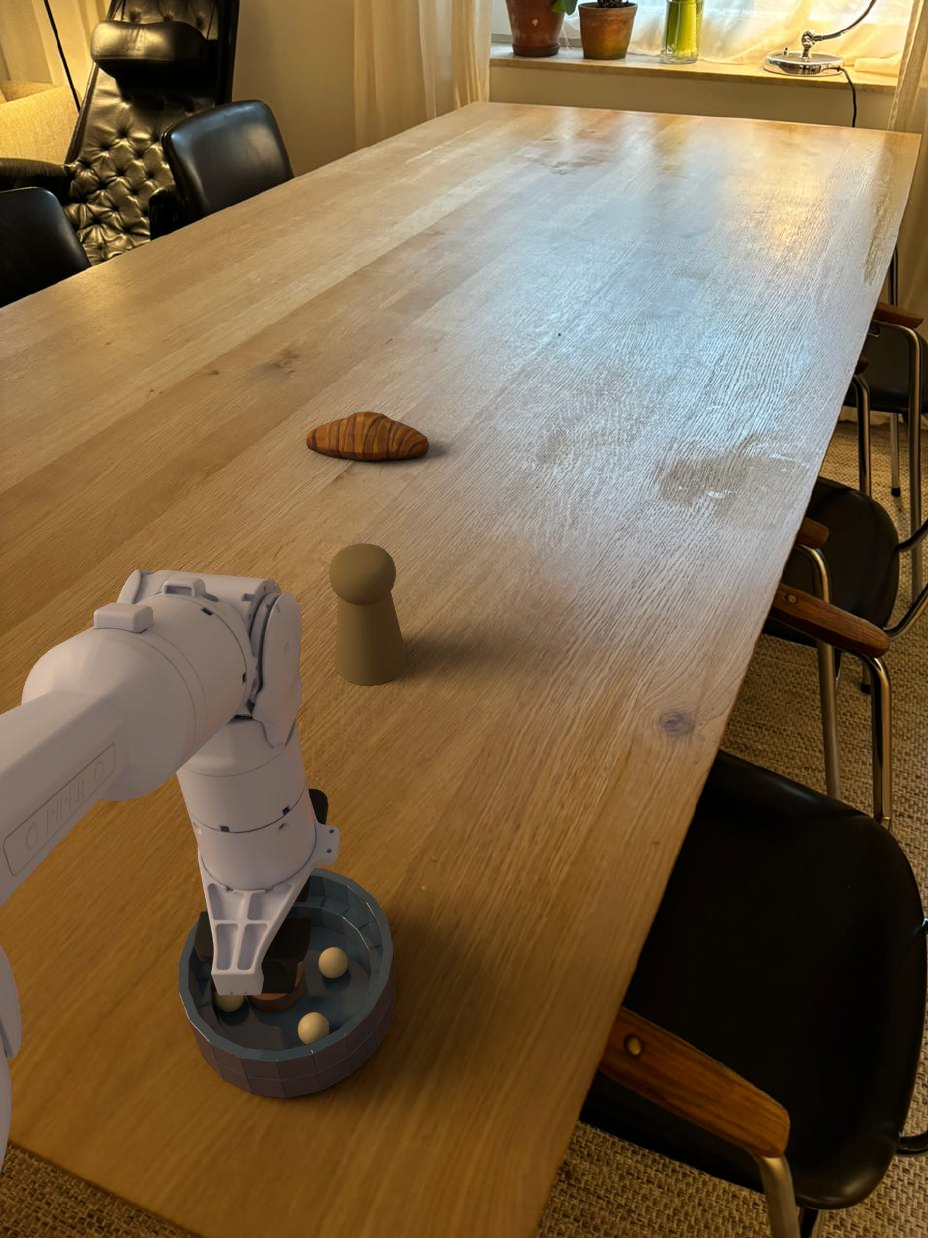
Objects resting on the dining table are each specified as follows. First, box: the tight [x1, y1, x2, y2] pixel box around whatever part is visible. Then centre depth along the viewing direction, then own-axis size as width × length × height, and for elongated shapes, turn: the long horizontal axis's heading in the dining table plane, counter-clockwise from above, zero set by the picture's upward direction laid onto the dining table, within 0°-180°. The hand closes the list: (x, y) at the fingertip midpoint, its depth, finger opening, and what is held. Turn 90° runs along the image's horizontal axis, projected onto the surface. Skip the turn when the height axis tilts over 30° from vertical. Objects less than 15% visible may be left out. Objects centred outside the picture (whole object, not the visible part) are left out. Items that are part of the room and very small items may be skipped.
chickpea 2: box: [298, 1012, 329, 1045], centre depth 57 cm, size 2×2×2 cm
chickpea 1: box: [214, 989, 245, 1012], centre depth 59 cm, size 2×2×2 cm
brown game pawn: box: [328, 542, 408, 687], centre depth 80 cm, size 6×6×11 cm
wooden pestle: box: [247, 961, 306, 1013], centre depth 57 cm, size 4×4×9 cm
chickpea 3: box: [319, 947, 348, 978], centre depth 61 cm, size 2×2×2 cm
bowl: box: [177, 867, 399, 1099], centre depth 59 cm, size 12×12×5 cm
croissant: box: [305, 410, 430, 462], centre depth 106 cm, size 14×7×5 cm, turn 84°
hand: (282, 940), depth 56 cm, fingers open, 5 cm apart
